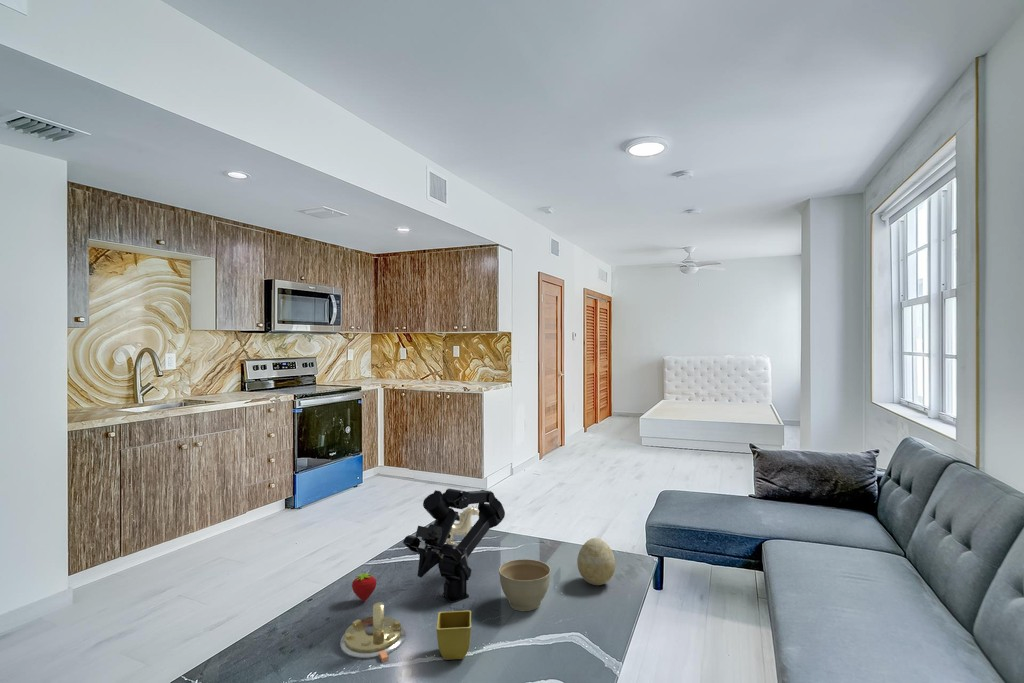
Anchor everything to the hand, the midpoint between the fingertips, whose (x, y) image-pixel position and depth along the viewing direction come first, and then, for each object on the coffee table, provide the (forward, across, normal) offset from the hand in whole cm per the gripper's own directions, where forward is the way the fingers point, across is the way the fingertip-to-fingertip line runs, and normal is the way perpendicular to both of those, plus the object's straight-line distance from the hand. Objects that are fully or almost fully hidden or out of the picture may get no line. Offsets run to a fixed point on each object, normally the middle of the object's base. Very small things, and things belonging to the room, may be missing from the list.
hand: (419, 576), depth 147 cm
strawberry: (+9, -23, +10) cm, 27 cm away
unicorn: (-26, -23, +46) cm, 58 cm away
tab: (+22, +3, -4) cm, 22 cm away
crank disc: (+18, -5, 0) cm, 19 cm away
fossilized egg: (-24, +36, +44) cm, 62 cm away
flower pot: (+15, +18, +4) cm, 24 cm away
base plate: (+18, -5, 0) cm, 19 cm away
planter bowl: (-8, +22, +27) cm, 35 cm away
